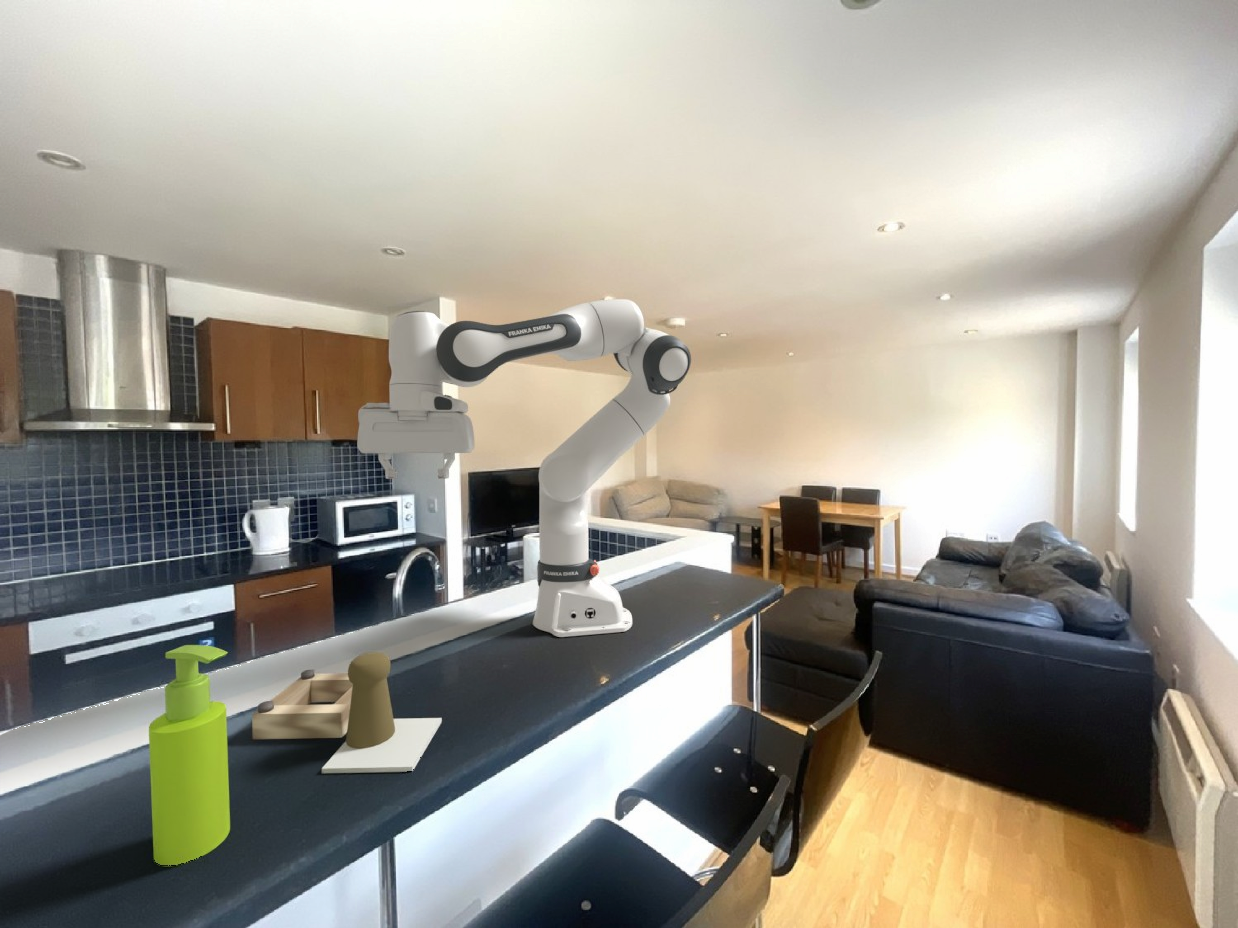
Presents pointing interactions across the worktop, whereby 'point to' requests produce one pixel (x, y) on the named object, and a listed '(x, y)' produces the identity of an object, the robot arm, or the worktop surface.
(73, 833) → the worktop surface
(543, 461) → the robot arm
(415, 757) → the white mat
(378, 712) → the brown pawn
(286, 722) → the sleeve block
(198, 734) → the soap dispenser
